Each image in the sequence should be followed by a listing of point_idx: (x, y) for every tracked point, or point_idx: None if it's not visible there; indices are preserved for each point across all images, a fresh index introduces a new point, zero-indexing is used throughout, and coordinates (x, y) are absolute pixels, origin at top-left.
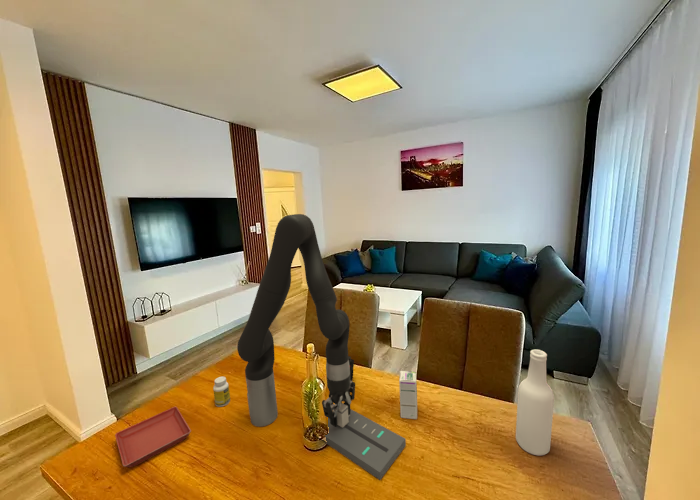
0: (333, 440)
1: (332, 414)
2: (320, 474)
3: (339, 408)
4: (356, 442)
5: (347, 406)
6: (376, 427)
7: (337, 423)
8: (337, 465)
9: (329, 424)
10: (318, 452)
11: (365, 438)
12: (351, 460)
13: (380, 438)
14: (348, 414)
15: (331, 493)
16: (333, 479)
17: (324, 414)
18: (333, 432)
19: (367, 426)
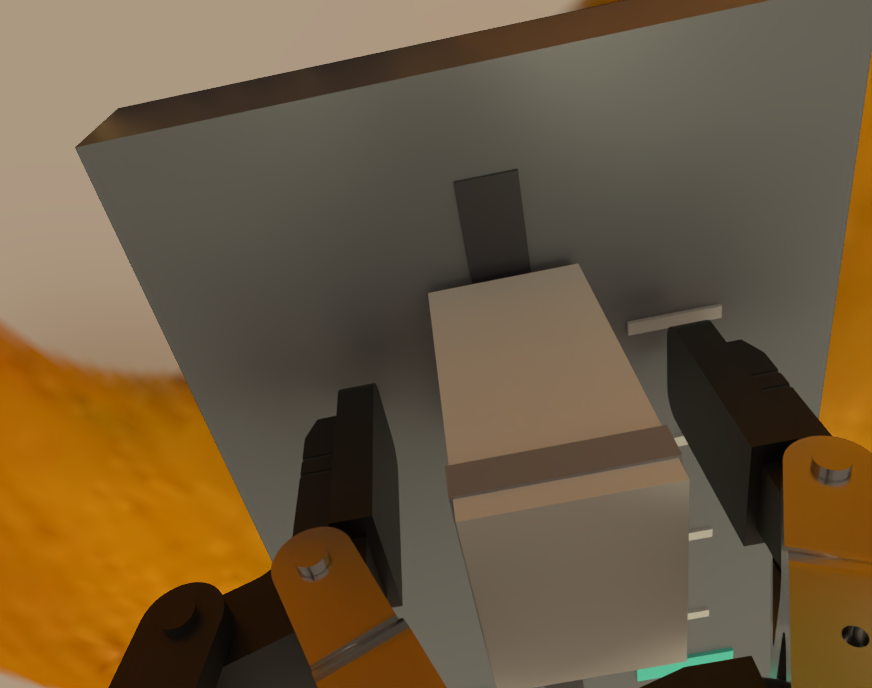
0: (253, 494)
1: (296, 685)
2: (12, 557)
3: (518, 639)
4: (446, 619)
5: (676, 652)
6: (739, 602)
7: (397, 491)
8: (195, 569)
9: (361, 262)
10: (78, 379)
11: None
12: None
13: (643, 685)
14: (673, 406)
15: (45, 683)
16: (104, 629)
17: (130, 650)
18: (323, 408)
19: (693, 552)
